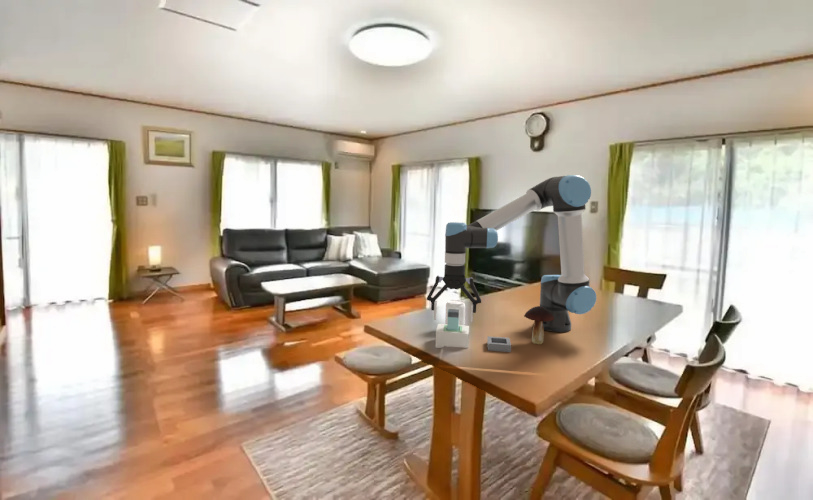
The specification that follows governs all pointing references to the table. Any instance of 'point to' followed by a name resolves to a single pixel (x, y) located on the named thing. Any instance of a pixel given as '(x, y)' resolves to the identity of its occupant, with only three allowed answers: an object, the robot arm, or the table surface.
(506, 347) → the holster
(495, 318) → the table surface
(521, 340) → the table surface
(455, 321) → the light blue tall block
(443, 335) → the port block
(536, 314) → the decorative mushroom
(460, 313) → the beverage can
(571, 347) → the table surface
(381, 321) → the table surface
